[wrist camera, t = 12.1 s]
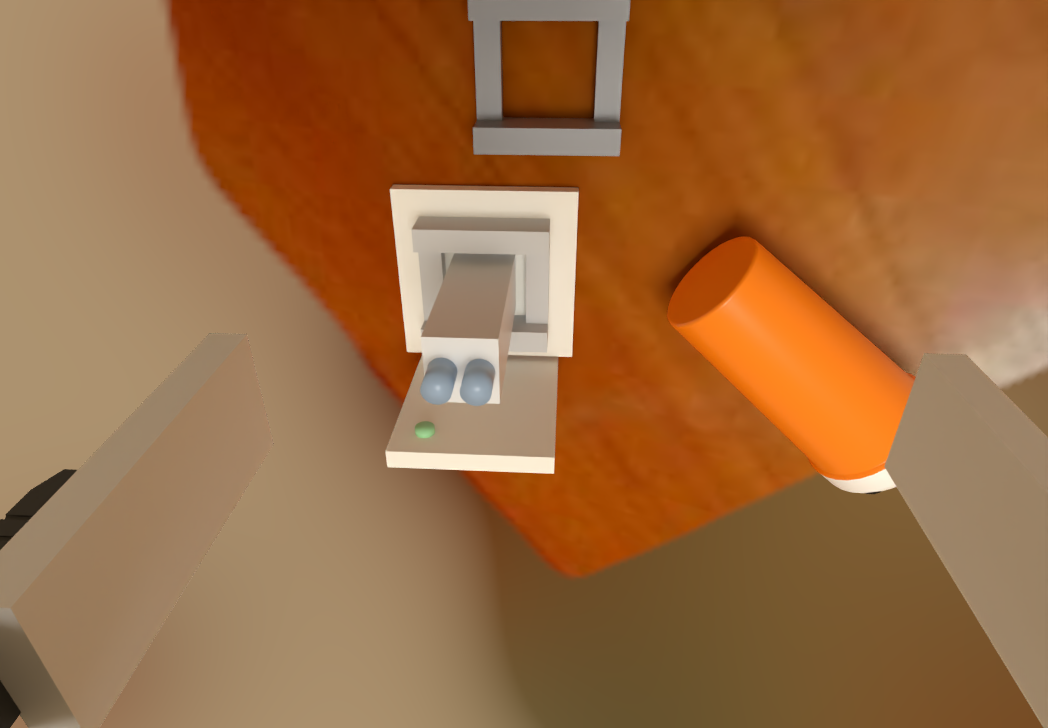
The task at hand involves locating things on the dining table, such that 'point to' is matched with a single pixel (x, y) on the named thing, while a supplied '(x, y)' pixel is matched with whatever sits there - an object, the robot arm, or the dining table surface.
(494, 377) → the plug
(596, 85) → the grey square frame
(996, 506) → the robot arm
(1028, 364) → the dining table surface
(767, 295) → the shaker bottle
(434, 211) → the port
